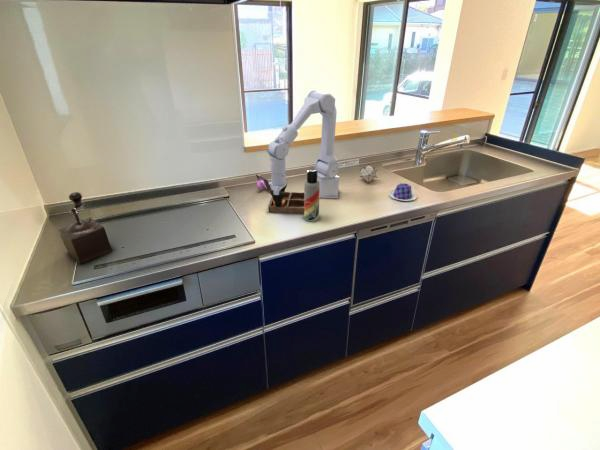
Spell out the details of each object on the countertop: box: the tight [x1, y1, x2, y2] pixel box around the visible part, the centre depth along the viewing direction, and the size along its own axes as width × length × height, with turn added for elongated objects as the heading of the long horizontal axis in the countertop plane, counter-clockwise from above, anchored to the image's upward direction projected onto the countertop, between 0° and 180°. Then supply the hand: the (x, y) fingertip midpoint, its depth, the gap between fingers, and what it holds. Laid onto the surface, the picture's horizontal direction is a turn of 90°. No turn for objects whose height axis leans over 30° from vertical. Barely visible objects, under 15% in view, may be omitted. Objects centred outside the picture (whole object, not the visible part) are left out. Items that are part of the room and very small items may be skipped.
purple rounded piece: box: [255, 174, 272, 193], centre depth 157 cm, size 7×5×9 cm
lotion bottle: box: [303, 169, 320, 222], centre depth 130 cm, size 6×6×20 cm
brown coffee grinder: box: [57, 191, 113, 265], centre depth 112 cm, size 16×11×18 cm
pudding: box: [388, 182, 418, 202], centre depth 151 cm, size 12×12×5 cm
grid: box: [268, 191, 304, 215], centre depth 144 cm, size 15×15×3 cm
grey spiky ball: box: [359, 163, 378, 184], centre depth 165 cm, size 9×8×10 cm
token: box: [273, 199, 285, 207], centre depth 141 cm, size 5×5×2 cm
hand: (279, 203), depth 141 cm, fingers closed on token, 5 cm apart
